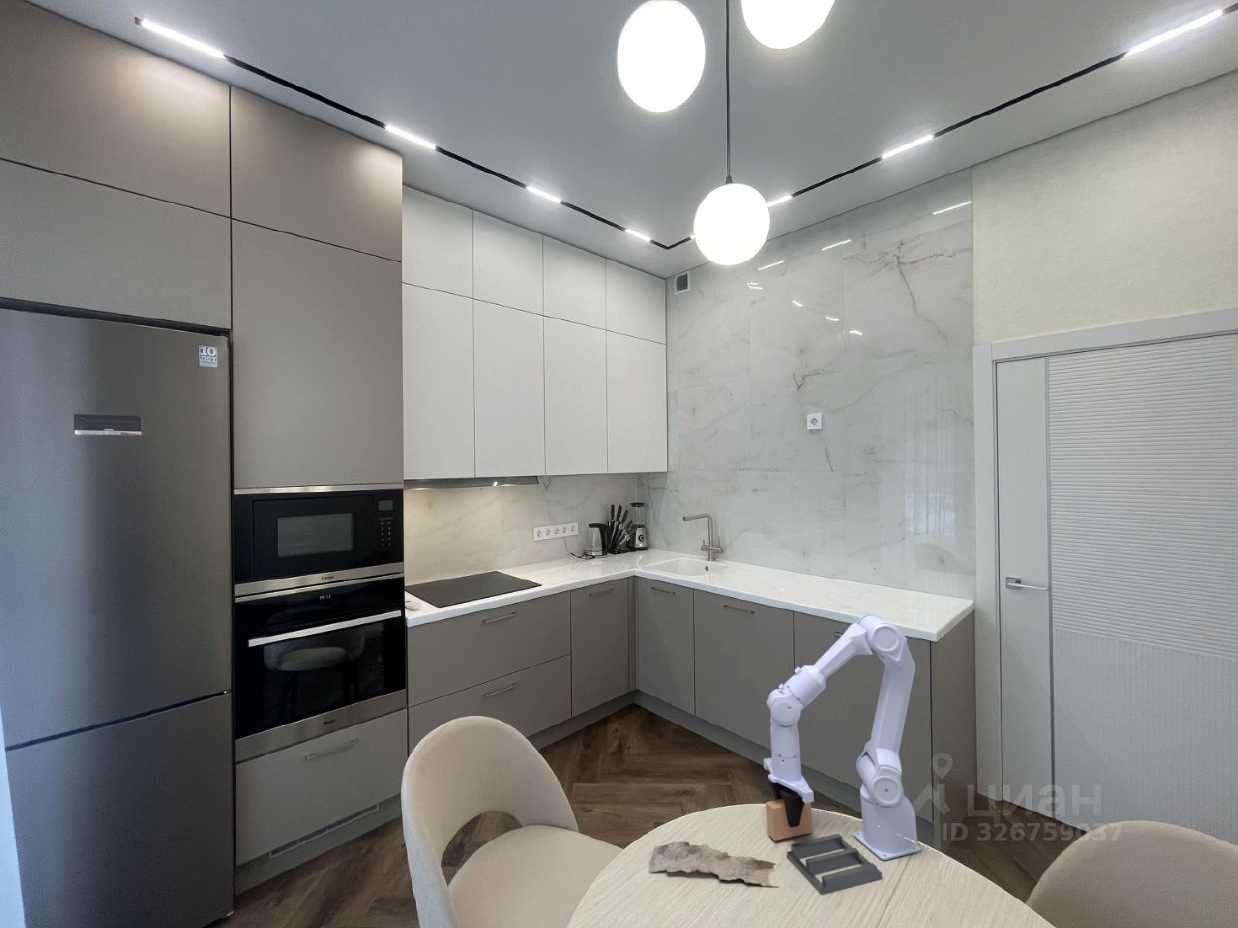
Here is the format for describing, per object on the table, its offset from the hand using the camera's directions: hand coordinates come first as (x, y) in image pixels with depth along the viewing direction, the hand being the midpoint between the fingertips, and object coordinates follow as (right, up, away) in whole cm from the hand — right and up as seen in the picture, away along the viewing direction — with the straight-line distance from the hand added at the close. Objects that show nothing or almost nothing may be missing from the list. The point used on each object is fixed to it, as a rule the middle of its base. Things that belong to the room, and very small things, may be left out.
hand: (789, 821), depth 102 cm
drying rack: (+5, -2, -10) cm, 11 cm away
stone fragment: (-17, -3, -9) cm, 20 cm away
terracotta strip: (0, -2, 0) cm, 2 cm away
